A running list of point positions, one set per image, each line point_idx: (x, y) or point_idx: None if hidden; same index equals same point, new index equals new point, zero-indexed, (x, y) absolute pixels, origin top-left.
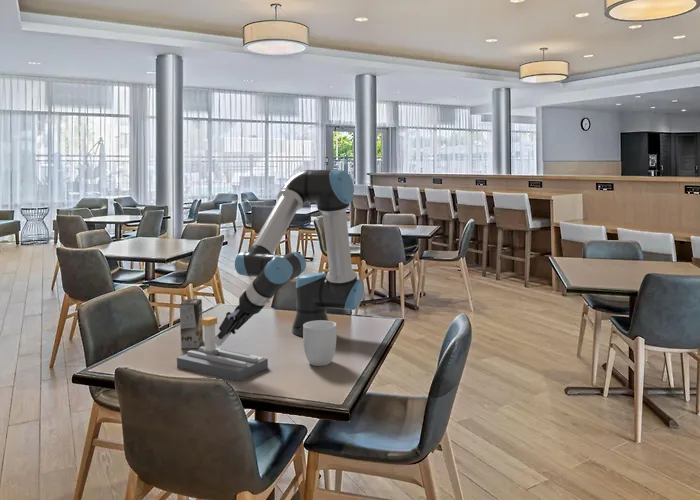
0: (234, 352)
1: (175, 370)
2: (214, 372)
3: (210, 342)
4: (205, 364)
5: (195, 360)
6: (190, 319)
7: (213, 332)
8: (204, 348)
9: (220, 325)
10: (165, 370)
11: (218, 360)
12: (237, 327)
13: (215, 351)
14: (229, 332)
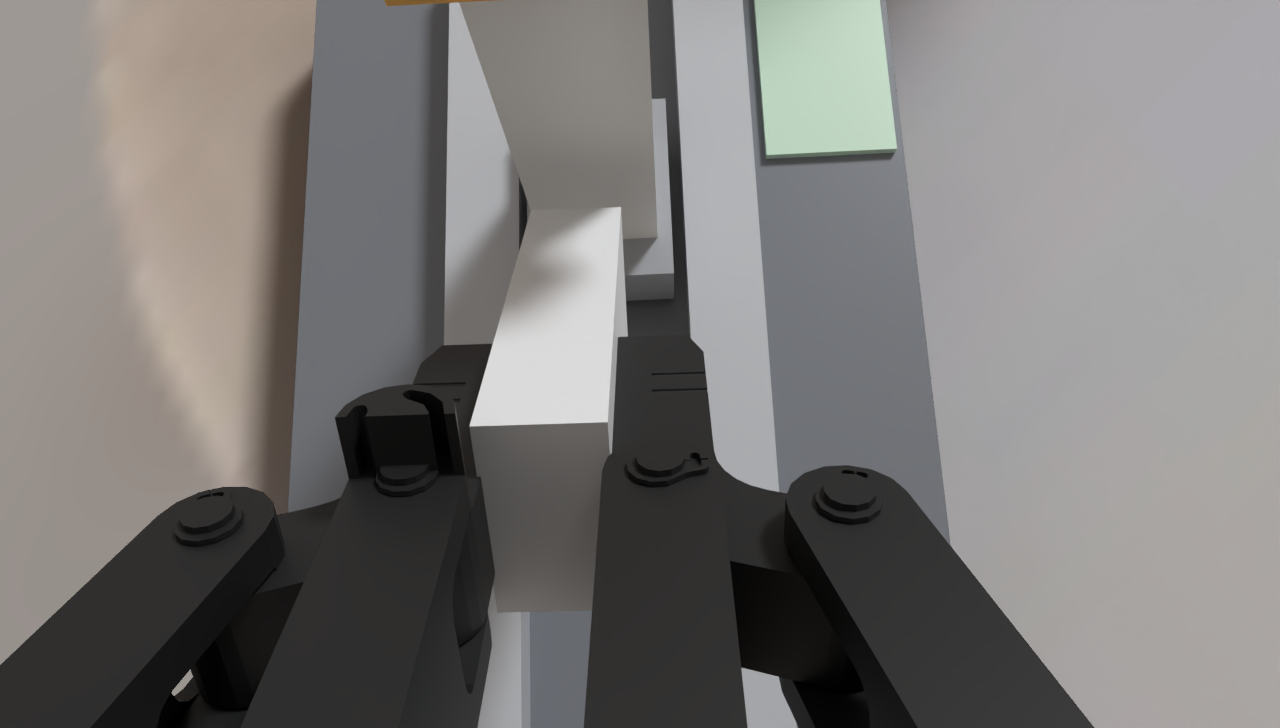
0: (910, 401)
1: (255, 94)
2: None
3: (529, 181)
4: (295, 435)
5: (348, 209)
6: None
7: (601, 88)
8: (675, 20)
9: (42, 627)
10: (205, 11)
11: None
12: (793, 704)
13: None
14: (579, 583)
